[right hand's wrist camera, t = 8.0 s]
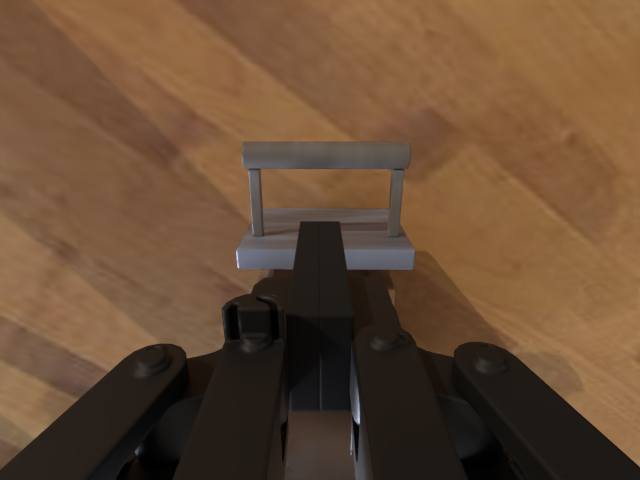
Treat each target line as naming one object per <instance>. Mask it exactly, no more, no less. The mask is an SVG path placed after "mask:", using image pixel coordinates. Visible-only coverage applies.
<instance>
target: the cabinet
mask: <svg viewBox="0 0 640 480" xmlns="http://www.w3.org/2000/svg"><path fill="white" fill-rule="evenodd" d="M394 309H395V307H394ZM395 311H396V310H395ZM396 314H397V313H396ZM397 317H398V316H397ZM398 320H399V319H398ZM399 323H400V322H399ZM400 326H401V325H400ZM288 424H289V434H288V445H287V456H286V467H285V478H284V480H356V478H355V467H354V455H350V449H351V424H352V408H351V412H289V410H288Z"/></svg>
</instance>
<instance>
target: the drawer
mask: <svg viewBox="0 0 640 480" xmlns="http://www.w3.org/2000/svg"><path fill="white" fill-rule="evenodd" d="M410 159H411V147H410V143H409V142H244V143H243V145H242V161H243V165H244V168H246V169H249V170H248V172H249V187H250V201H251V215H252V223H251V224H250V226H249V228H248V230H247V232H246V233H245V235H244V237H243V239H242V241H241V243H240V244H239V246H238V248H237V250H236V254H237V265H238V269H262V272H261V275H260V278H259V281H260V280H261V279H263V278H292V272H293V265H294V259H295V253H296V246H297V240H298V233H299V227H300V221H340V227H341V233H342V240H343V246H344V253H345V259H346V265H347V272H348V277H378V278H379V279H380V280H381V281H383V282H384V283H385V284H386V286H387V289H388V291H389V295H390V297H391V300H392V303H393V306H394V307H395V296H396V290H395V287H394V285H393V282H392V279H391V276H390V274H389V271H388V270H413V269H414V262H415V253H416V251H415V249H414V247H413V246H412V244H411V242H410V240H409V239H408V237H407V235H406V233H405V232H404V230H403V228H402V226H401V225H400V213H401V201H402V189H403V177H404V170H403V169H408V167H409V164H410ZM261 169H392V173H391V187H390V200H389V209H348V208H263V204H262V186H261ZM259 281H258V282H259Z"/></svg>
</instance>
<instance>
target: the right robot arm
mask: <svg viewBox="0 0 640 480" xmlns="http://www.w3.org/2000/svg"><path fill="white" fill-rule="evenodd" d="M222 317H223V326H224V335H225V343H224V346H223V348H222V349H220V350H218V351H216V352H213V353H210V354H206V355H202V356H198V357H193V358H188V359H187V357H186V352H185V351H184V350H183V349H182V348H181V347H179V346H176V345H173V344H155V345H150V346H146V347H144V348H142V349H139V350H137V351H135V352H133V353H132V354H130V355H129V356H127V357H126V358H124V359H123V360H122V361H121V362H120V363H119V364H118V365H117V366H115V367H114V368H113V369H112V370H111V371H110V372H109V373H108V374H107V375H105V376H104V377H103V378H102V379H101V380H100V381H99V382H98V383H97V384H95V385H94V386H93V387H92V388H91V389H90V390H89V391H88V392H87V393H85V394H84V395H83V396H82V397H81V398H80V399H79V400H78V401H77V402H75V403H74V404H73V405H72V406H71V407H70V408H69V409H68V410H67V411H65V412H64V413H63V414H62V415H61V416H60V417H59V418H58V419H57V420H55V421H54V422H53V423H52V424H51V425H50V426H49V427H48V428H47V429H45V430H44V431H43V432H42V433H41V434H40V435H39V436H38V437H37V438H35V439H34V440H33V441H32V442H31V443H30V444H29V445H28V446H27V447H25V448H24V449H23V450H22V451H21V452H20V453H19V454H18V455H17V456H15V457H14V458H13V459H12V460H11V461H10V462H9V463H8V464H7V465H5V466H4V467H3V468H2V469H1V470H0V480H284V478H285V467H286V456H287V445H288V434H289V424H288V410H289V412H351V408H352V424H351V449H350V455H354V467H355V478H356V480H640V467H639V466H638V465H637V464H636V463H635V462H633V461H632V460H631V459H630V458H629V457H628V456H627V455H626V454H624V453H623V452H622V451H621V450H620V449H619V448H618V447H617V446H616V445H614V444H613V443H612V442H611V441H610V440H609V439H608V438H607V437H605V436H604V435H603V434H602V433H601V432H600V431H599V430H598V429H596V428H595V427H594V426H593V425H592V424H591V423H590V422H589V421H587V420H586V419H585V418H584V417H583V416H582V415H581V414H580V413H579V412H577V411H576V410H575V409H574V408H573V407H572V406H571V405H570V404H568V403H567V402H566V401H565V400H564V399H563V398H562V397H561V396H559V395H558V394H557V393H556V392H555V391H554V390H553V389H552V388H551V387H549V386H548V385H547V384H546V383H545V382H544V381H543V380H542V379H540V378H539V377H538V376H537V375H536V374H535V373H534V372H533V371H531V370H530V369H529V368H528V367H527V366H526V365H525V364H524V363H522V362H521V361H520V360H519V359H518V358H517V357H516V356H514V355H513V354H511V353H510V352H508V351H507V350H505V349H503V348H500V347H498V346H496V345H493V344H489V343H483V342H468V343H465V344H462V345H459V347H458V348H457V349H456V350H455V351H454V357H450V356H445V355H441V354H436V353H432V352H429V351H425V350H423V349H421V348H419V347H417V345H416V342H415V340H414V339H413V337H412V336H411V335H410V334H409V333H408V332H406V331H405V330H403V329H402V328H401V326H400V323H399V320H398V317H397V314H396V311H395V309H394V306H393V303H392V300H391V297H390V295H389V291H388V289H387V286H386V284H385V283H384V282H383V281H381V280H380V279H379V278H378V277H348V272H347V265H346V259H345V253H344V246H343V240H342V233H341V227H340V221H300V227H299V233H298V240H297V246H296V253H295V259H294V265H293V272H292V278H263V279H261V280H260V281H259V282H258V283H257V284H255V285H254V287H253V290H252V293H251V294H246V295H243V296H239V297H236V298H234V299H232V300H230V301H229V302H227V303H226V304H225V305H224V307H223V308H222Z"/></svg>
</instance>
